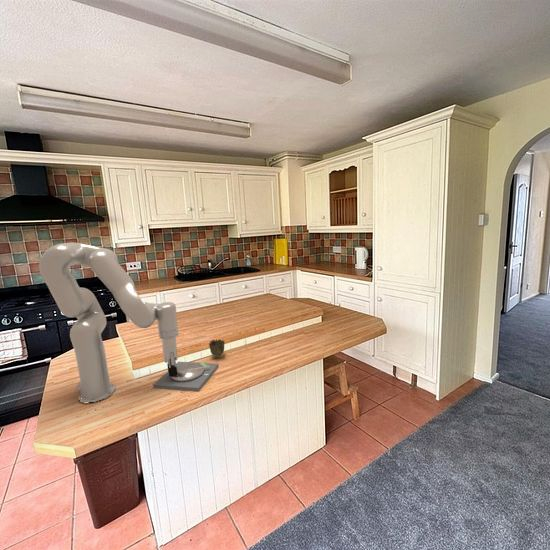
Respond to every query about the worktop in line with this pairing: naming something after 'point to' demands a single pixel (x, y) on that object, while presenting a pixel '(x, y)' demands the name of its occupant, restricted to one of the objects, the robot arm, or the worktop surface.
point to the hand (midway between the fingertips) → (172, 373)
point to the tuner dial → (188, 372)
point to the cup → (217, 348)
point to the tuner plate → (191, 385)
